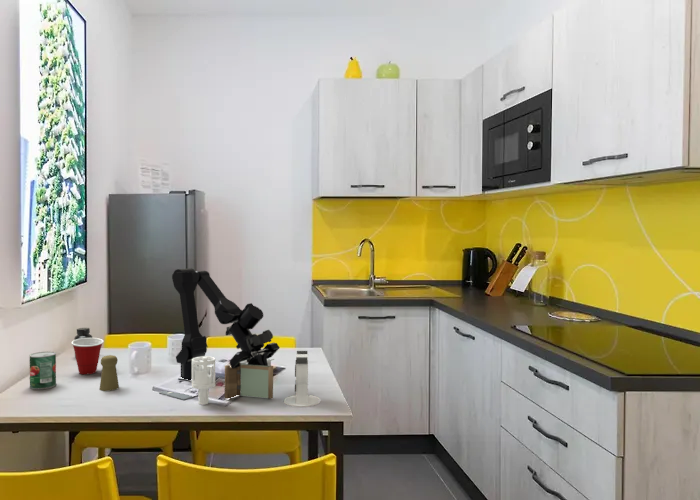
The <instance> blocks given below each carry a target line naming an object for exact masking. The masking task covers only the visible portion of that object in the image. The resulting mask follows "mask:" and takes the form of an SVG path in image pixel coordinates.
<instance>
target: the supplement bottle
mask: <svg viewBox="0 0 700 500" xmlns="http://www.w3.org/2000/svg"><path fill="white" fill-rule="evenodd" d="M90 329H91V328H90V327H80V328H76V334H77V335H75V336H74V338H73V340H76V339H81V338H94V337H93V335H92V334H90V333H91V332H90V331H91V330H90ZM74 358H75V359H76V356H75V355H74Z"/></svg>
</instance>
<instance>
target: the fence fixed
mask: <svg viewBox="0 0 700 500" xmlns="http://www.w3.org/2000/svg"><path fill="white" fill-rule="evenodd" d="M239 363H240V362H239ZM230 366H231V365H230V364H229V365H228V364H227V365H224V399H225V398H231V397H234V396H236V395H241V363H240V366H239V367H238V368H234V369H232V367H230Z"/></svg>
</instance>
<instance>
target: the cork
mask: <svg viewBox="0 0 700 500" xmlns="http://www.w3.org/2000/svg"><path fill="white" fill-rule="evenodd" d="M117 364H118V357H117V356H116V355H111V354H109V355H103V356H102V357H101V358H100V366H101V368H102V369H101V375H100V383H99V391H101V392H102V391H103V392H111V391H116V390H117V389H119V388H120V386H119V385H120V384H119V379H118V372H117Z"/></svg>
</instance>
